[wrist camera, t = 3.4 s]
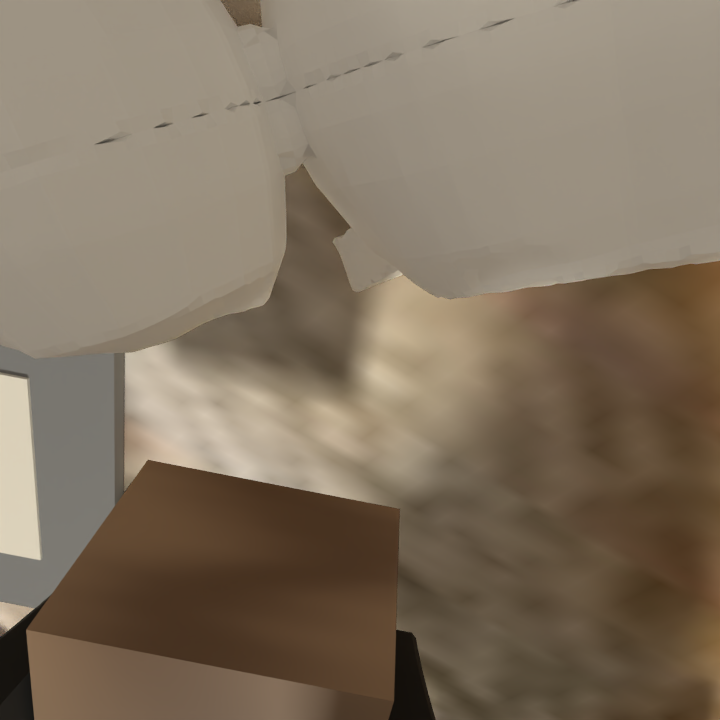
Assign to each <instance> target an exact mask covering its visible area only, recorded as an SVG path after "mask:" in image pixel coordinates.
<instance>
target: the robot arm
mask: <svg viewBox="0 0 720 720" xmlns="http://www.w3.org/2000/svg"><path fill="white" fill-rule="evenodd" d="M50 596H51V595H50ZM50 596H49V597H50ZM49 597H48V598H47V599H45V600H44V601H43V602H42V603H41V604H40V605H38V606H37V607H36V608H35V609H34V610H33V611H31V612H30V613H29V614H28V615H27V616H25V617H24V618H23V619H22V620H21V621H19V622H18V623H17V624H16V625H15V626H14V627H12V628H11V629H10V630H9V631H7V632H6V633H5V634H4V635H2V636H1V637H0V720H34V710H33V699H32V688H31V677H30V667H29V656H28V645H27V634H26V629H27V628H28V626H29V625H30V624H31V622H32V621H33V619H34V618H35V617H36V615H37V614H38V612H39V611H40V610H41V608H42V607H43V605H44V604H45V603H46V601H47V600H48V599H49ZM388 720H436V719H435V716H434V713H433V709H432V705H431V702H430V698H429V695H428V691H427V687H426V683H425V679H424V675H423V671H422V667H421V663H420V658H419V653H418V648H417V642H416V638H415V636H414V635H413V634H412V633H411V632H405V631H400V630H396V650H395V683H394V703H393V706H392V709H391V713H390V716H389V719H388Z"/></svg>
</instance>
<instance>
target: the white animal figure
mask: <svg viewBox="0 0 720 720" xmlns="http://www.w3.org/2000/svg"><path fill="white" fill-rule="evenodd" d="M260 8H261V20H262V27H259V26H256V25H253V24H247V25H242V26H238V27H237V25H236V24H235V22H234V21H233V19H232V17H231V16H230V14H229V13H228V11H227V10H226V8H225V7H224V5H223V3H222V2H221V0H0V345H2V346H5V347H8V348H12V349H15V350H19V351H21V352H23V353H24V354H27V355H29V356H31V357H33V358H34V359H39V358H51V357H67V356H81V355H90V354H102V353H126V352H135V351H138V350H142V349H145V348H148V347H152V346H155V345H159V344H162V343H165V342H168V341H171V340H174V339H176V338H178V337H180V336H182V335H184V334H185V333H187V332H189V331H191V330H193V329H194V328H196V327H198V326H200V325H202V324H204V323H206V322H209V321H211V320H214V319H216V318H219V317H222V316H225V315H228V314H233V313H240V312H245V311H247V310H248V309H252V308H257V307H260V306H263V305H264V304H265V303H266V302H267V300H268V299H269V298H270V295H271V292H272V289H273V286H274V283H275V280H276V277H277V274H278V271H279V268H280V265H281V262H282V259H283V257H284V254H285V251H286V242H287V234H286V191H285V176H286V175H288V174H291V173H293V172H296V170H297V169H298V168H299V167H300V165H301V164H302V163H303V165H304V166H305V168H306V170H307V172H308V173H309V175H310V177H311V178H312V180H313V182H314V184H315V185H316V186H317V187H318V188H319V190H320V191H321V192H322V193H323V194H324V195H325V197H326V198H327V199H328V200H329V201H330V203H331V204H332V205H333V206H334V207H335V209H336V210H337V211H338V212H339V213H340V215H341V216H342V217H343V218H344V219H345V221H346V222H347V223H348V224H349V225H350V226H351V228H349V229H348V230H347V231H346V232H345V234H344V235H341V236H338V237H335V238H334V240H333V241H332V242H333V244H334V245H335V247H336V248H337V250H338V252H339V254H340V256H341V259H342V262H343V265H344V268H345V271H346V274H347V277H348V280H349V282H350V285H351V288H352V290H353V291H355V292H357V293H358V292H360V291H363V290H365V289H368V288H370V287H373V286H375V285H377V284H380V283H382V282H385V281H388V280H390V279H393V278H396V277H399V276H401V275H405V276H406V277H407V278H408V279H409V280H411V281H412V282H413V283H414V284H416V285H418V286H419V287H421V288H422V289H424V290H425V291H427V292H429V293H430V294H432V295H434V296H436V297H443V298H447V299H454V298H465V297H472V296H477V295H482V294H485V293H501V292H510V291H514V290H518V289H522V288H528V287H540V286H551V285H554V284H557V283H563V284H566V283H571V282H578V281H584V280H588V279H595V278H602V277H607V276H616V275H626V274H631V273H636V272H640V271H644V270H648V269H661V268H673V267H677V266H681V265H686V264H702V263H708V262H715V261H720V0H260Z"/></svg>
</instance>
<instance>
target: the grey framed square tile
mask: <svg viewBox="0 0 720 720" xmlns="http://www.w3.org/2000/svg"><path fill="white" fill-rule="evenodd" d="M123 494H124V353H102V354H90V355H81V356H67V357H51V358H39V359H34V358H33V357H31V356H29V355H27V354H24V353H23V352H21V351H19V350H15V349H12V348H8V347H5V346H2V345H0V602H5V603H10V604H16V605H21V606H26V607H31V608H36V607H37V606H38V605H40V604H41V603H42V602H43V601H44V600H45V599H47V598H48V597H49V596H50V595H51V594H52V593H53V592H54V590H55V589H56V587H57V586H58V585H59V583H60V582H61V580H62V579H63V578H64V576H65V575H66V573H67V572H68V571H69V569H70V568H71V566H72V565H73V564H74V562H75V561H76V560H77V558H78V557H79V555H80V554H81V553H82V551H83V550H84V548H85V547H86V546H87V544H88V543H89V541H90V540H91V539H92V537H93V536H94V534H95V533H96V532H97V530H98V529H99V527H100V526H101V525H102V523H103V522H104V521H105V519H106V518H107V516H108V515H109V514H110V512H111V511H112V509H113V508H114V507H115V505H116V504H117V502H118V501H119V500H120V498H121V497H122V495H123Z"/></svg>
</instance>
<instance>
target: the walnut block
mask: <svg viewBox="0 0 720 720" xmlns="http://www.w3.org/2000/svg"><path fill="white" fill-rule="evenodd" d="M399 518H400V509H397V508H392V507H386V506H381V505H376V504H371V503H366V502H361V501H356V500H351V499H345V498H340V497H335V496H330V495H325V494H320V493H315V492H310V491H304V490H299V489H294V488H289V487H284V486H279V485H274V484H269V483H263V482H258V481H253V480H248V479H243V478H238V477H233V476H228V475H222V474H217V473H212V472H207V471H202V470H197V469H192V468H186V467H181V466H176V465H171V464H166V463H161V462H156V461H151V460H148V461H147V462H146V463H145V465H144V466H143V468H142V469H141V470H140V472H139V473H138V475H137V476H136V477H135V479H134V480H133V482H132V483H131V484H130V486H129V487H128V488H127V490H126V491H125V493H124V494H123V495H122V497H121V498H120V500H119V501H118V502H117V504H116V505H115V507H114V508H113V509H112V511H111V512H110V514H109V515H108V516H107V518H106V519H105V521H104V522H103V523H102V525H101V526H100V527H99V529H98V530H97V532H96V533H95V534H94V536H93V537H92V539H91V540H90V541H89V543H88V544H87V546H86V547H85V548H84V550H83V551H82V553H81V554H80V555H79V557H78V558H77V560H76V561H75V562H74V564H73V565H72V566H71V568H70V569H69V571H68V572H67V573H66V575H65V576H64V578H63V579H62V580H61V582H60V583H59V585H58V586H57V587H56V589H55V590H54V592H53V593H52V594H51V596H50V597H49V599H48V600H47V601H46V603H45V604H44V605H43V607H42V608H41V610H40V611H39V612H38V614H37V615H36V617H35V618H34V619H33V621H32V622H31V624H30V625H29V626H28V628H27V629H26V634H27V645H28V656H29V667H30V677H31V688H32V699H33V710H34V720H388V719H389V716H390V713H391V709H392V706H393V703H394V683H395V650H396V617H397V584H398V551H399Z"/></svg>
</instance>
